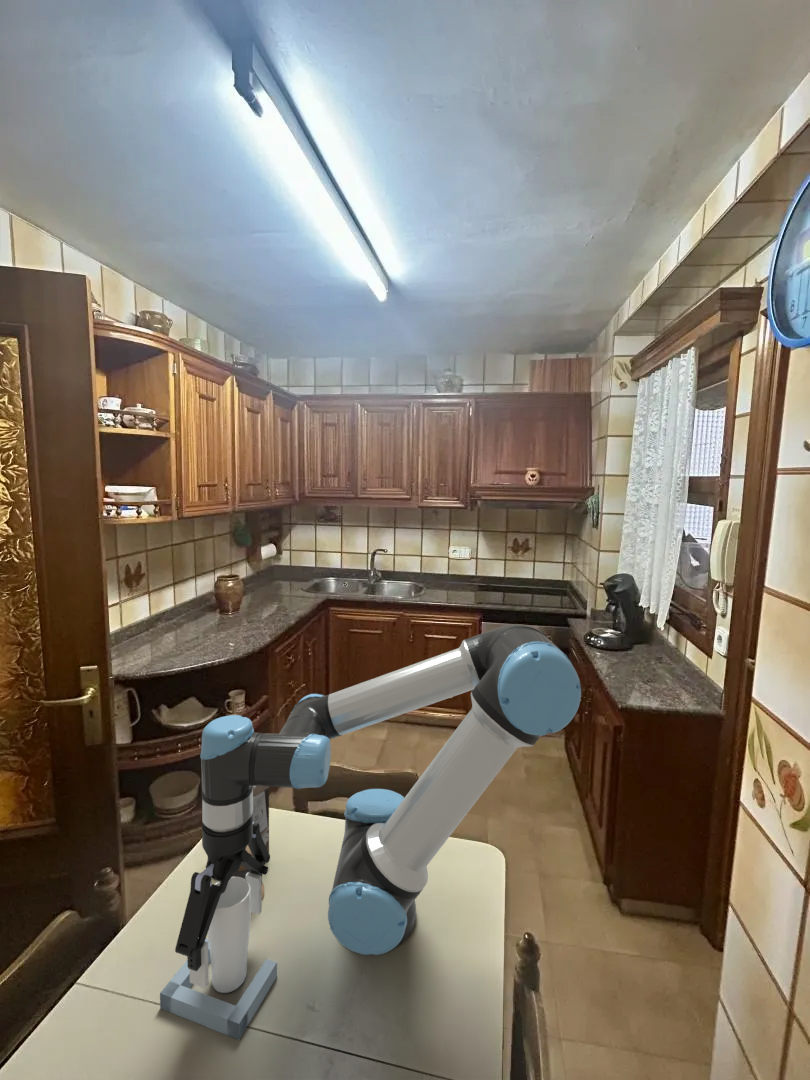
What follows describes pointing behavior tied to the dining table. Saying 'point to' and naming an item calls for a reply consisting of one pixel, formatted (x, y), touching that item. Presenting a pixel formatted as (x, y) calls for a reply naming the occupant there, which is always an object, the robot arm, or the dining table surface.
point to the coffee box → (261, 811)
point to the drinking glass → (230, 936)
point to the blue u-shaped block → (217, 1001)
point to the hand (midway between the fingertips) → (228, 944)
